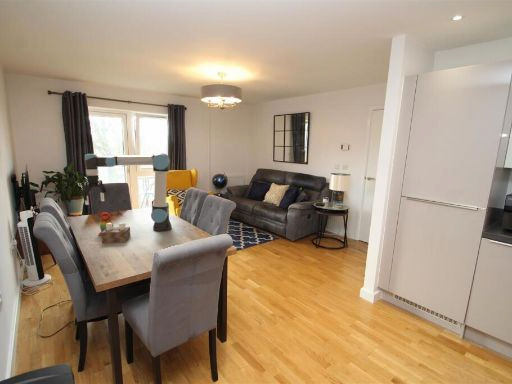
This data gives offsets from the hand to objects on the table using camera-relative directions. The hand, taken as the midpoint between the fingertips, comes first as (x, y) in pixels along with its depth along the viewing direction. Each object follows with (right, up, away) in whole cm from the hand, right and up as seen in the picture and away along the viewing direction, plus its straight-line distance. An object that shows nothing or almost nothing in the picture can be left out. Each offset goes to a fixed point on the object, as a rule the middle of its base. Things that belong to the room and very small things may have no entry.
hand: (95, 202), depth 199 cm
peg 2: (+21, -23, -1) cm, 31 cm away
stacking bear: (+2, -26, +12) cm, 28 cm away
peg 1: (+12, -23, -2) cm, 26 cm away
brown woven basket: (+17, -28, 0) cm, 33 cm away
